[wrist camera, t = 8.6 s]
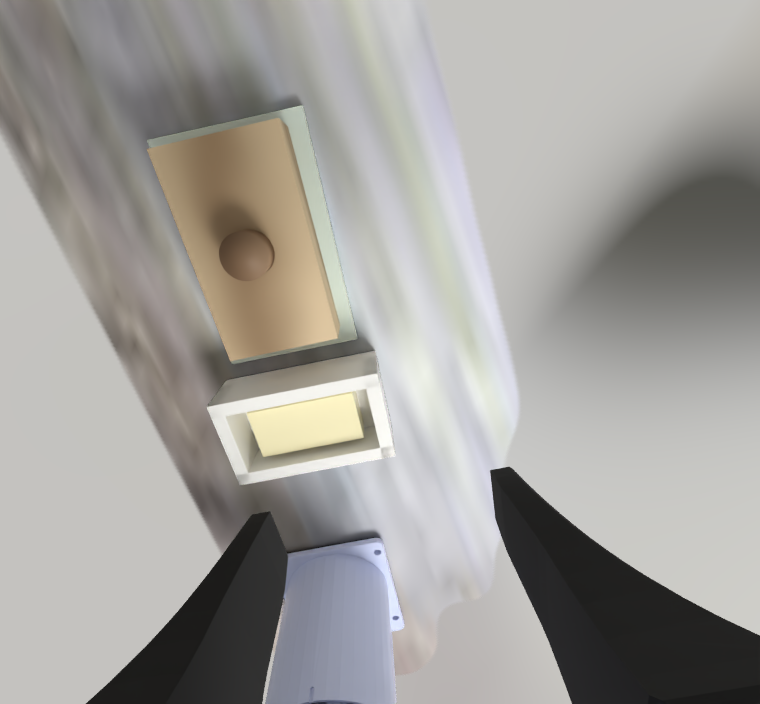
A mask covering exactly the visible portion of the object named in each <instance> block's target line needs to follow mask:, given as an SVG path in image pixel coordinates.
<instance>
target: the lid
mask: <svg viewBox="0 0 760 704" xmlns="http://www.w3.org/2000/svg"><path fill="white" fill-rule="evenodd" d="M147 151H148V154H149V156H150V159H151V161H152V164H153V166H154V169H155V171H156V174H157V177H158V179H159V182H160V184H161V187H162V189H163V192H164V194H165V197H166V199H167V202H168V204H169V207H170V210H171V212H172V215H173V217H174V220H175V222H176V225H177V227H178V230H179V232H180V235H181V237H182V240H183V243H184V245H185V248H186V250H187V253H188V255H189V258H190V260H191V263H192V265H193V268H194V270H195V273H196V276H197V278H198V281H199V283H200V286H201V288H202V291H203V293H204V296H205V298H206V301H207V303H208V306H209V309H210V311H211V314H212V316H213V319H214V321H215V324H216V326H217V329H218V331H219V334H220V337H221V339H222V342H223V344H224V347H225V349H226V352H227V354H228V357H229V359H230V361H234V360H239V359H244V358H248V357H253V356H258V355H262V354H267V353H272V352H277V351H281V350H286V349H291V348H295V347H300V346H305V345H309V344H314V343H319V342H323V341H328V340H333V339H338V335H339V330H340V323H339V319H338V315H337V311H336V308H335V304H334V300H333V296H332V292H331V289H330V285H329V281H328V277H327V273H326V270H325V266H324V262H323V258H322V254H321V251H320V247H319V243H318V239H317V235H316V232H315V228H314V224H313V220H312V216H311V213H310V209H309V205H308V201H307V197H306V194H305V190H304V186H303V182H302V178H301V174H300V171H299V167H298V163H297V159H296V155H295V152H294V148H293V144H292V140H291V136H290V133H289V129H288V126H287V125H286V124H285V123H284V122H283V121H282V120H281V119H279V118H275V119H271V120H267V121H262V122H258V123H254V124H250V125H245V126H241V127H237V128H233V129H229V130H224V131H220V132H216V133H212V134H208V135H203V136H199V137H195V138H191V139H187V140H182V141H178V142H174V143H170V144H166V145H161V146H157V147H153V148H149V149H147Z"/></svg>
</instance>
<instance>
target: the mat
mask: <svg viewBox="0 0 760 704" xmlns="http://www.w3.org/2000/svg"><path fill="white" fill-rule="evenodd" d="M275 118H279V119H281V120H282V121H283V122H284V123H285V124H286V125H287V126H288V129H289V133H290V136H291V140H292V144H293V148H294V152H295V155H296V159H297V163H298V167H299V171H300V174H301V178H302V182H303V186H304V190H305V194H306V197H307V201H308V205H309V209H310V213H311V216H312V220H313V224H314V228H315V232H316V235H317V239H318V243H319V247H320V251H321V254H322V258H323V262H324V266H325V270H326V273H327V277H328V281H329V285H330V289H331V292H332V296H333V300H334V304H335V308H336V311H337V315H338V319H339V323H340V330H339V335H338V339H333V340H328V341H323V342H319V343H314V344H309V345H305V346H300V347H295V348H291V349H286V350H281V351H277V352H272V353H267V354H262V355H258V356H253V357H248V358H244V359H239V360H234V361H231V363H232V364H237V363H242V362H247V361H252V360H257V359H262V358H267V357H272V356H277V355H282V354H287V353H292V352H297V351H302V350H307V349H311V348H316V347H321V346H326V345H331V344H336V343H341V342H346V341H351V340H356V339H357V333H356V329H355V324H354V320H353V316H352V312H351V307H350V303H349V299H348V295H347V290H346V286H345V282H344V278H343V273H342V269H341V265H340V261H339V256H338V252H337V248H336V244H335V239H334V235H333V231H332V226H331V222H330V218H329V214H328V209H327V205H326V201H325V197H324V192H323V188H322V184H321V180H320V175H319V171H318V167H317V163H316V158H315V154H314V150H313V145H312V141H311V137H310V133H309V128H308V124H307V120H306V116H305V111H304V107H303V106H302V105H301V106H297V107H292V108H288V109H283V110H279V111H274V112H270V113H265V114H261V115H256V116H252V117H247V118H243V119H238V120H234V121H230V122H225V123H221V124H216V125H212V126H207V127H203V128H198V129H194V130H189V131H185V132H180V133H176V134H171V135H167V136H162V137H158V138H154V139H149V140H147V142H148V145H149V147H150V148H153V147H157V146H161V145H166V144H170V143H174V142H178V141H182V140H187V139H191V138H195V137H199V136H203V135H208V134H212V133H216V132H220V131H224V130H229V129H233V128H237V127H241V126H245V125H250V124H254V123H258V122H262V121H267V120H271V119H275Z"/></svg>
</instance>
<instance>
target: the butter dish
mask: <svg viewBox="0 0 760 704" xmlns="http://www.w3.org/2000/svg"><path fill="white" fill-rule="evenodd" d="M207 409H208V412H209V414H210V416H211V419H212V421H213V423H214V426H215V428H216V430H217V433H218V435H219V437H220V440H221V442H222V444H223V447H224V449H225V451H226V454H227V456H228V459H229V461H230V463H231V466H232V468H233V470H234V473H235V475H236V477H237V480H238V482H239V484H240V485H246V484H251V483H256V482H261V481H267V480H272V479H277V478H283V477H288V476H293V475H298V474H304V473H309V472H314V471H319V470H325V469H330V468H335V467H341V466H346V465H351V464H356V463H362V462H367V461H372V460H378V459H383V458H388V457H393V456H395V448H394V440H393V432H392V425H391V420H390V415H389V411H388V406H387V402H386V397H385V393H384V388H383V383H382V379H381V374H380V370H379V365H378V361H377V356H376V352H375V351H370V352H365V353H360V354H355V355H350V356H345V357H340V358H335V359H330V360H325V361H320V362H315V363H310V364H305V365H300V366H295V367H290V368H285V369H280V370H275V371H270V372H265V373H260V374H255V375H250V376H245V377H240V378H235V379H230V380H226V381H225V383H224V384H223V386H222V387H221V388H220V390H219V391H218V392H217V394H216V395H215V396H214V398H213V399H212V400H211V402H210V403H209V404H208V406H207Z"/></svg>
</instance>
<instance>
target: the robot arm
mask: <svg viewBox="0 0 760 704" xmlns="http://www.w3.org/2000/svg"><path fill="white" fill-rule="evenodd" d="M490 473H491V482H492V491H493V500H494V509H495V519H496V521H497V524H498V527H499V530H500V533H501V536H502V539H503V542H504V544H505V547H506V550H507V552H508V554H509V557H510V558H511V561H512V563H513V565H514V567H515V569H516V571H517V574H518V576H519V578H520V580H521V582H522V584H523V586H524V588H525V590H526V593H527V595H528V597H529V599H530V601H531V603H532V605H533V607H534V610H535V612H536V614H537V616H538V618H539V620H540V622H541V624H542V627H543V629H544V631H545V634H546V636H547V638H548V640H549V643H550V645H551V648H552V651H553V653H554V656H555V659H556V661H557V664H558V667H559V669H560V672H561V675H562V677H563V680H564V683H565V685H566V688H567V691H568V693H569V696H570V699H571V701H572V704H760V636H759V635H757V634H755V633H753V632H751V631H749V630H746V629H744V628H742V627H740V626H738V625H736V624H734V623H731V622H730V621H727V620H725V619H723V618H721V617H719V616H717V615H715V614H713V613H711V612H709V611H708V610H706V609H704V608H702V607H700V606H698V605H696V604H694V603H692V602H690V601H689V600H687V599H685V598H683V597H681V596H680V595H678V594H676V593H674V592H673V591H671V590H669V589H668V588H666V587H664V586H662V585H661V584H659V583H657V582H656V581H654V580H652V579H650V578H649V577H647V576H645V575H643V574H642V573H641V572H639V571H637V570H636V569H634V568H633V567H631V566H630V565H628V564H627V563H625V562H623V561H622V560H620V559H619V558H618V557H616V556H615V555H613V554H612V553H610V552H609V551H608V550H606V549H605V548H603V547H602V546H601V545H599V544H598V543H596V542H595V541H594V540H592V539H591V538H590V537H588V536H587V535H586V534H585V533H583V532H582V531H581V530H580V529H578V528H577V527H576V526H574V525H573V524H572V523H571V522H570V521H568V520H567V519H566V518H565V517H564V516H562V515H561V514H560V513H559V512H558V511H557V510H555V509H554V508H553V507H552V506H551V505H549V503H547V502H546V501H545V500H544V499H543V498H542V497H541V496H540V495H539V494H537V493H536V492H535V491H534V490H533V489H532V488H531V487H530V486H529V485H528V484H527V483H526V482H525V481H524V480H523V479H522V478H521V477H520V476H519V475H518V474H517V473H516V472H515V471H514V470H513V469H512V468H510V467H506V468H500V469H495V470H490ZM283 597H284V600H285V604H284V609H283V614H282V619H281V624H280V630H279V635H278V640H277V645H276V651H275V656H274V661H273V666H272V672H271V677H270V682H269V687H268V693H267V697H266V703H265V704H397V701H396V686H395V670H394V655H393V640H392V631H397V630H401V629H403V628H404V619H403V615H402V612H401V608H400V604H399V600H398V597H397V593H396V589H395V585H394V581H393V578H392V574H391V570H390V566H389V563H388V559H387V555H386V551H385V548H384V544H383V541H382V540H381V539H380V538H371V539H366V540H360V541H355V542H349V543H344V544H338V545H333V546H327V547H322V548H316V549H311V550H305V551H300V552H294V553H289V554H287V552H286V550H285V547H284V545H283V542H282V540H281V537H280V535H279V532H278V530H277V527H276V525H275V522H274V520H273V517H272V515H271V512H264V513H259V514H253V515H251V517H250V518H249V519H248V521H247V522H246V523H245V525H244V526H243V528H242V529H241V530H240V532H239V533H238V534H237V536H236V537H235V539H234V540H233V541H232V543H231V544H230V545H229V547H228V548H227V550H226V551H225V552H224V554H223V555H222V556H221V558H220V559H219V560H218V562H217V563H216V564H215V566H214V567H213V568H212V570H211V571H210V573H209V574H208V575H207V576H206V578H205V579H204V580H203V581H202V582H201V584H200V585H199V586H198V588H197V589H196V590H195V591H194V592H193V594H192V595H191V596H190V597H189V599H188V600H187V601H186V602H185V604H184V605H183V606H182V607H181V608H180V609H179V611H178V612H177V613H176V614H175V615H174V616H173V618H172V619H171V620H170V621H169V622H168V623H167V624H166V625H165V626H164V628H163V629H162V630H161V631H160V632H159V633H158V634H157V635H156V636H155V637H154V638H153V639H152V641H151V642H150V643H149V644H148V645H147V646H146V647H145V648H144V649H143V650H142V651H141V652H140V653H139V654H138V655H137V656H136V657H135V658H134V659H133V660H132V661H131V662H130V663H129V664H128V665H127V666H126V667H125V668H123V669H122V670H121V671H120V673H118V674H117V675H116V676H115V677H114V678H113V679H112V680H111V681H110V682H109V683H108V684H107V685H106V686H105V687H104V688H103V689H102V690H100V691H99V692H98V693H97V694H96V695H95V696H94V697H93V698H92V699H91V700H89V701H88V702H87V703H86V704H262V701H263V693H264V687H265V681H266V676H267V670H268V666H269V662H270V657H271V653H272V648H273V643H274V639H275V634H276V630H277V625H278V621H279V616H280V611H281V607H282V602H283Z"/></svg>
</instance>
